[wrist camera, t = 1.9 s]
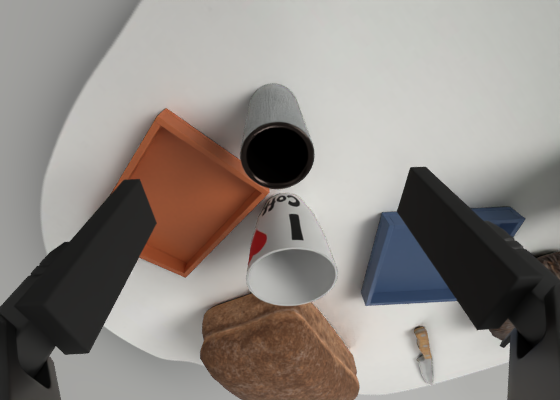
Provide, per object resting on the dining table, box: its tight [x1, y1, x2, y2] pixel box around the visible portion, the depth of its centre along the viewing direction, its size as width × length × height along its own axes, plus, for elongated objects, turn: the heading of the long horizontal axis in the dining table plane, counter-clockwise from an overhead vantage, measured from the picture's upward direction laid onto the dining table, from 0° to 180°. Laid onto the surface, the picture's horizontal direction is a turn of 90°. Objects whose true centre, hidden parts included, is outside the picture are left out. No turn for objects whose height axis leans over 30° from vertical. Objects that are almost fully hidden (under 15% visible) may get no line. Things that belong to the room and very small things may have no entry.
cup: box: [246, 193, 338, 306], centre depth 27 cm, size 8×8×10 cm
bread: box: [200, 293, 360, 400], centre depth 43 cm, size 17×29×12 cm, turn 27°
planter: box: [240, 84, 314, 189], centre depth 20 cm, size 4×4×10 cm
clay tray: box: [110, 108, 269, 278], centre depth 29 cm, size 17×12×2 cm
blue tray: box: [361, 207, 525, 306], centre depth 36 cm, size 16×16×2 cm
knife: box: [414, 327, 433, 385], centre depth 56 cm, size 31×1×3 cm
